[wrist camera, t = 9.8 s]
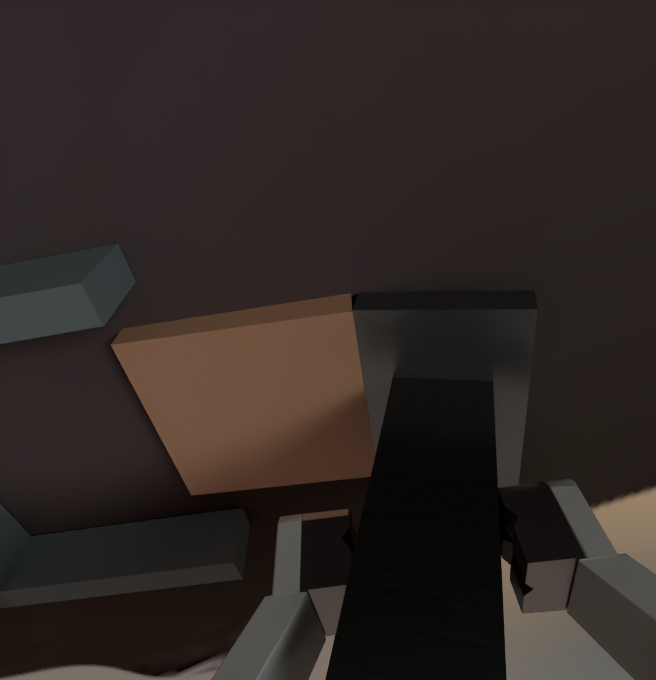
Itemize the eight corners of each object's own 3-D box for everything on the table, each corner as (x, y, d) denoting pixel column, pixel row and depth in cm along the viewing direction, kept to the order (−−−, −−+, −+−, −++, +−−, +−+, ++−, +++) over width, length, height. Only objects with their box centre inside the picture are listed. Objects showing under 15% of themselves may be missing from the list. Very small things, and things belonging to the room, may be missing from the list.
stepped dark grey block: (534, 290, 10) (620, 727, 4) (513, 489, 14) (541, 862, 8) (358, 293, 11) (221, 633, 5) (385, 475, 15) (324, 791, 9)
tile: (350, 286, 12) (352, 311, 11) (374, 446, 15) (377, 475, 14) (128, 319, 12) (110, 344, 11) (200, 465, 16) (191, 495, 15)
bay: (117, 243, 10) (80, 282, 9) (250, 524, 16) (242, 579, 15) (-228, 308, 11) (-322, 356, 10) (21, 554, 17) (-11, 609, 16)
